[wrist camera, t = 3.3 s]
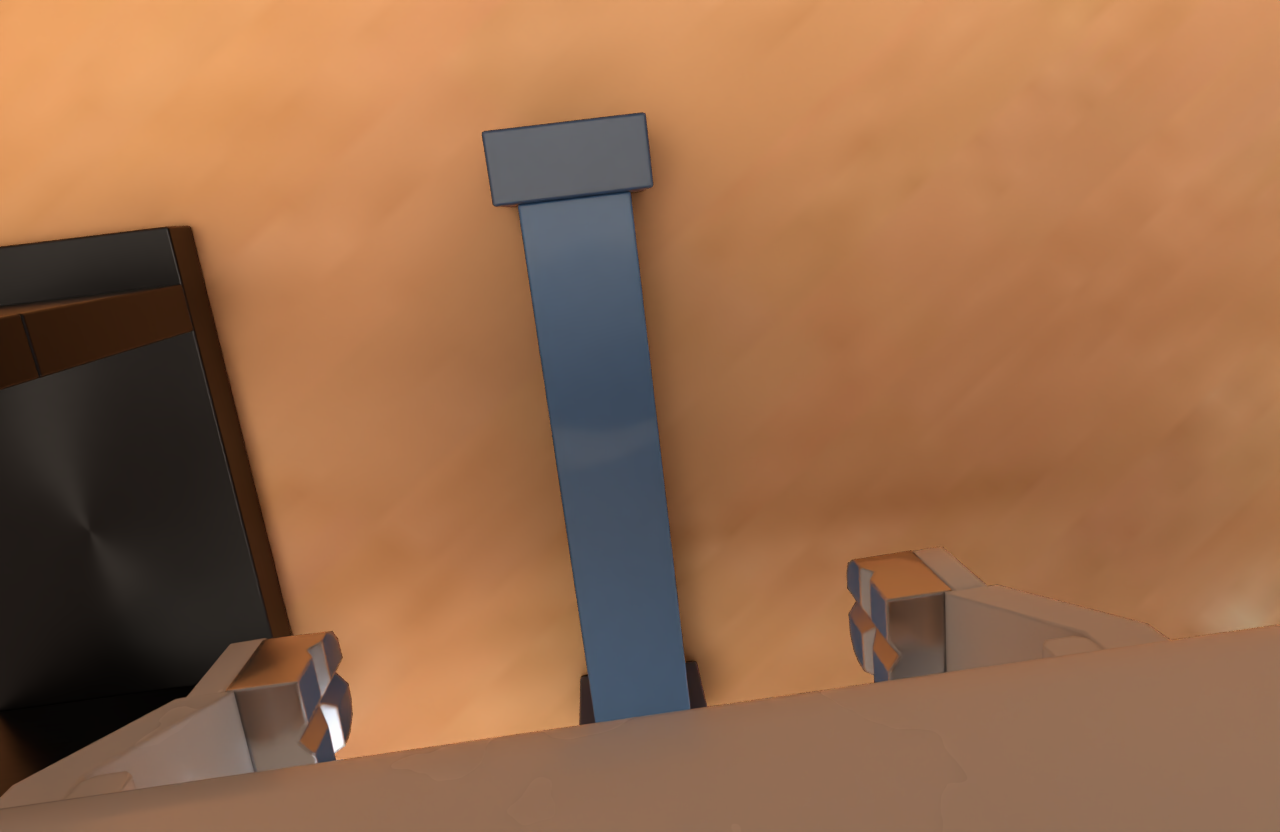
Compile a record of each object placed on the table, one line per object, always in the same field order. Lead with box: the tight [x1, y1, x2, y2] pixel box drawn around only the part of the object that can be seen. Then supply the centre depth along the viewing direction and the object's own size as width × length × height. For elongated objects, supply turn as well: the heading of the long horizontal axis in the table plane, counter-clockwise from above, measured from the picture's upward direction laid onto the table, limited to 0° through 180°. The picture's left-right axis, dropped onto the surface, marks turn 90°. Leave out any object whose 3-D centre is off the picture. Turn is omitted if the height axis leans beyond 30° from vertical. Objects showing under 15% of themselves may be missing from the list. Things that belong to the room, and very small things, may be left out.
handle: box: [482, 112, 707, 725], centre depth 22 cm, size 4×17×4 cm, turn 7°
